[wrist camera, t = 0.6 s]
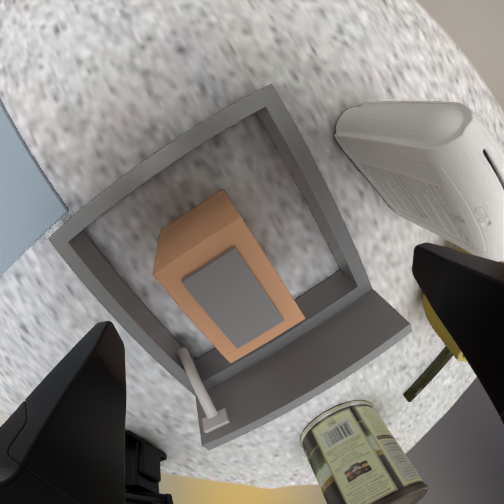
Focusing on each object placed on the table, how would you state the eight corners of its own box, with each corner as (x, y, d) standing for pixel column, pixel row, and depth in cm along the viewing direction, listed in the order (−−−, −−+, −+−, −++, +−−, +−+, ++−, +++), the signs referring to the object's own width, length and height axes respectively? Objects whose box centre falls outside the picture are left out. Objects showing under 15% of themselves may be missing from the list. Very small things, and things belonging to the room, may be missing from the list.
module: (216, 303, 24) (231, 367, 17) (160, 230, 21) (152, 278, 14) (272, 267, 24) (308, 322, 17) (222, 189, 21) (242, 218, 14)
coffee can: (337, 453, 37) (376, 530, 24) (283, 446, 33) (319, 542, 20) (389, 405, 35) (443, 483, 22) (339, 392, 31) (400, 494, 18)
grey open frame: (198, 376, 26) (208, 450, 19) (63, 224, 19) (13, 273, 12) (357, 279, 26) (412, 331, 19) (259, 89, 19) (303, 69, 12)
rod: (403, 393, 35) (411, 403, 34) (400, 392, 35) (408, 402, 33) (534, 206, 30) (544, 210, 28) (532, 202, 29) (543, 206, 27)
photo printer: (427, 186, 24) (543, 233, 13) (399, 222, 25) (511, 287, 14) (357, 94, 20) (494, 88, 9) (321, 133, 21) (453, 151, 10)
